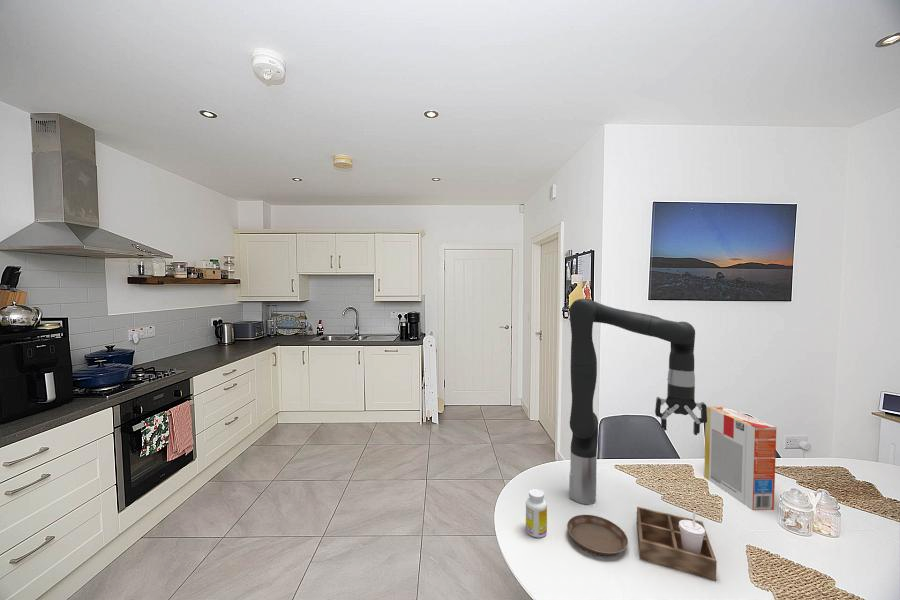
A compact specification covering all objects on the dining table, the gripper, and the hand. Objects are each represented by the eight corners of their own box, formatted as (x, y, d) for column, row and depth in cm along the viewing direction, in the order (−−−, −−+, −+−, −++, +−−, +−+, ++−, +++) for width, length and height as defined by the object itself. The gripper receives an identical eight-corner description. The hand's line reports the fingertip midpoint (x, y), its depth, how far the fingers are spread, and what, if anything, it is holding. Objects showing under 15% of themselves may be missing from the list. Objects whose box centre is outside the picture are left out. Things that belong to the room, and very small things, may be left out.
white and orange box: (773, 509, 130) (776, 427, 129) (752, 510, 130) (754, 427, 129) (722, 476, 153) (724, 406, 152) (704, 477, 153) (705, 406, 152)
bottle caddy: (639, 559, 106) (639, 540, 105) (636, 522, 122) (636, 506, 122) (716, 580, 98) (716, 561, 98) (701, 538, 115) (702, 521, 114)
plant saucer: (626, 532, 118) (627, 523, 118) (628, 570, 102) (629, 559, 102) (570, 517, 125) (570, 508, 125) (563, 551, 109) (563, 541, 109)
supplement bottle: (547, 527, 119) (548, 489, 119) (546, 540, 113) (546, 500, 113) (527, 523, 122) (527, 485, 121) (524, 535, 115) (524, 496, 115)
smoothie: (709, 569, 101) (710, 520, 100) (683, 565, 102) (684, 517, 101) (698, 553, 107) (699, 506, 106) (674, 549, 108) (675, 503, 108)
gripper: (657, 383, 118) (656, 432, 118) (710, 388, 112) (708, 440, 112) (655, 378, 125) (654, 424, 125) (704, 382, 119) (703, 431, 119)
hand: (679, 431), depth 119 cm, fingers open, 8 cm apart
